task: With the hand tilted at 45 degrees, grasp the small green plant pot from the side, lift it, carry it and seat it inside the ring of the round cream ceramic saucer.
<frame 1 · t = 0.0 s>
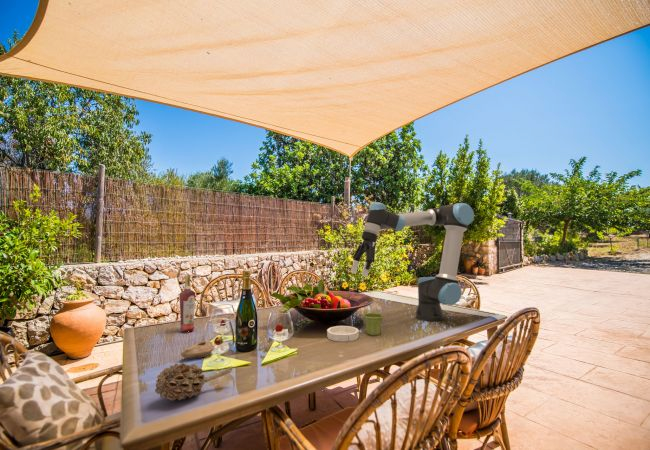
hand: (358, 274, 153), 28 cm above the table, tool tilted 20°, fingers open, 13 cm apart
plant pot: (373, 334, 150), on the table
pottery oil lamp: (197, 357, 123), on the table
banksia seed pod: (196, 395, 93), on the table
liquor: (187, 331, 157), on the table
saucer: (342, 336, 146), on the table
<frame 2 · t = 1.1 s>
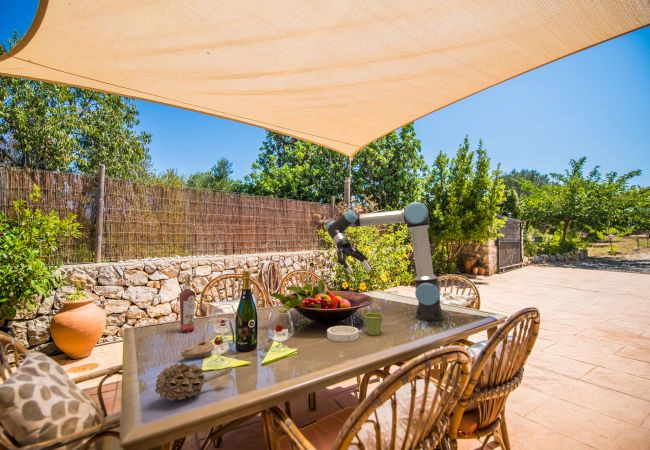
hand: (360, 271, 168), 28 cm above the table, tool tilted 45°, fingers open, 13 cm apart
nothing on the table moved.
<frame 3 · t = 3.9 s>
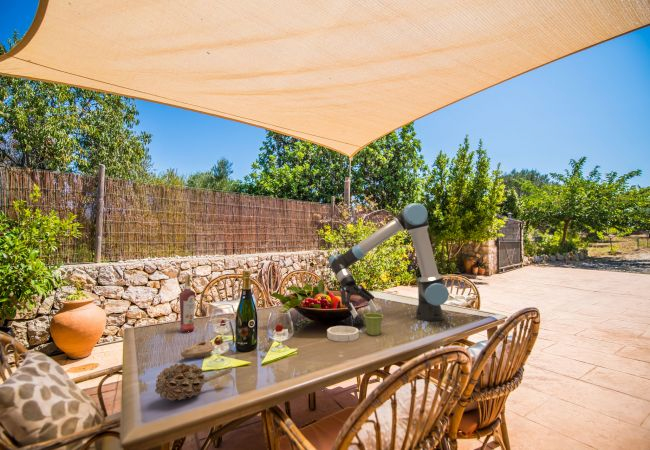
hand: (366, 313, 153), 9 cm above the table, tool tilted 45°, fingers open, 13 cm apart
nothing on the table moved.
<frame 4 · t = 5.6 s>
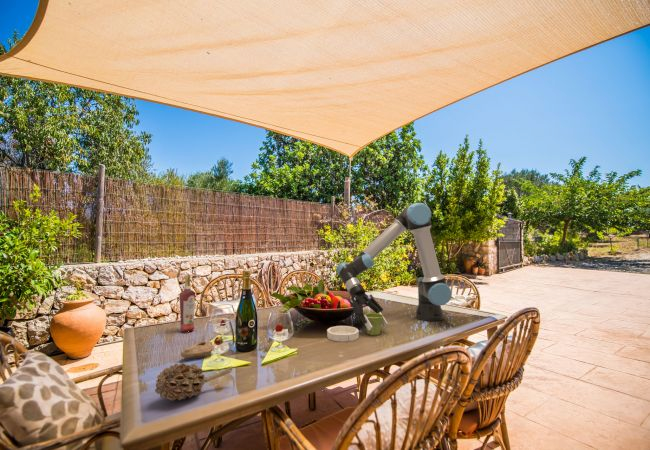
hand: (378, 326, 148), 4 cm above the table, tool tilted 45°, fingers closed on plant pot, 9 cm apart
plant pot: (373, 334, 150), on the table, touching gripper
everything else where it was.
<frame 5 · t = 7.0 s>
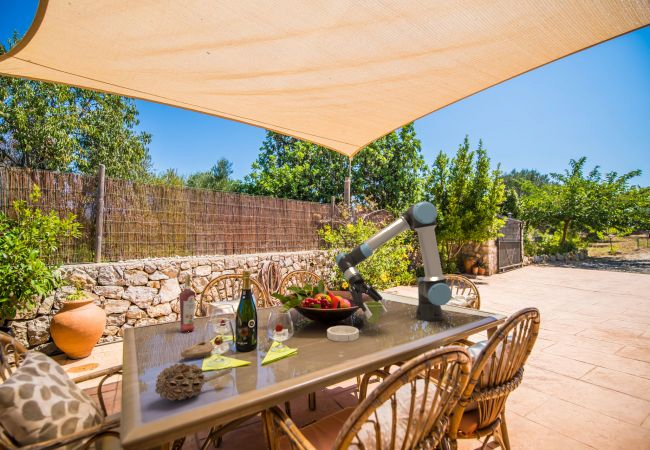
hand: (377, 314, 148), 9 cm above the table, tool tilted 45°, fingers closed on plant pot, 9 cm apart
plant pot: (373, 322, 151), point 5 cm above the table, touching gripper
everything else where it was.
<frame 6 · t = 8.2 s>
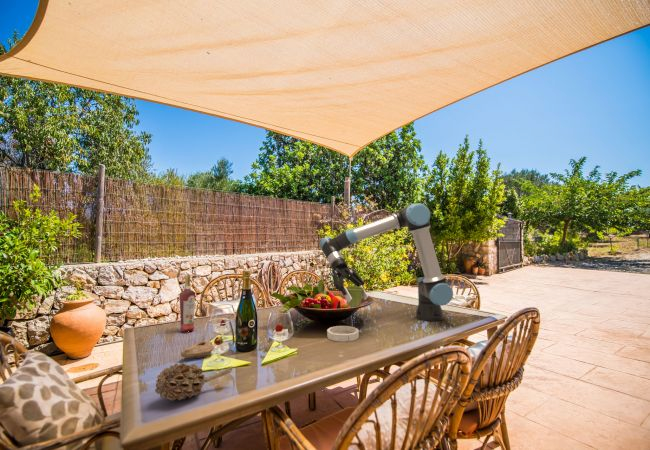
hand: (358, 299, 146), 17 cm above the table, tool tilted 45°, fingers closed on plant pot, 9 cm apart
plant pot: (353, 306, 149), point 13 cm above the table, touching gripper
everything else where it was.
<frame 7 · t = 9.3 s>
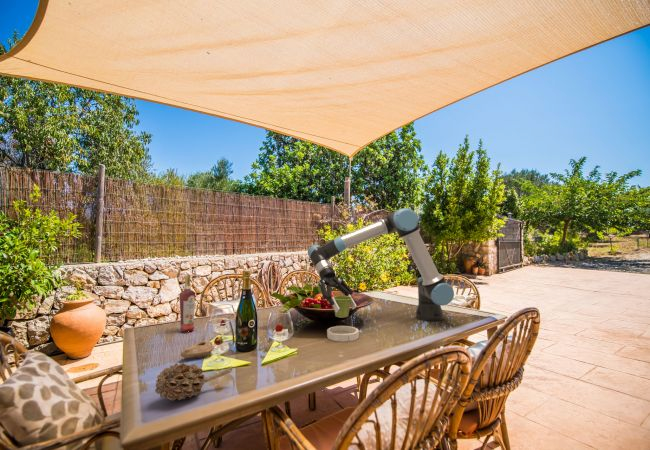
hand: (346, 309, 144), 13 cm above the table, tool tilted 45°, fingers closed on plant pot, 9 cm apart
plant pot: (341, 316, 146), point 9 cm above the table, touching gripper
everything else where it was.
when the fingers open (6 cm above the table, at t = 10.9 s): plant pot drops 1 cm, resting on saucer.
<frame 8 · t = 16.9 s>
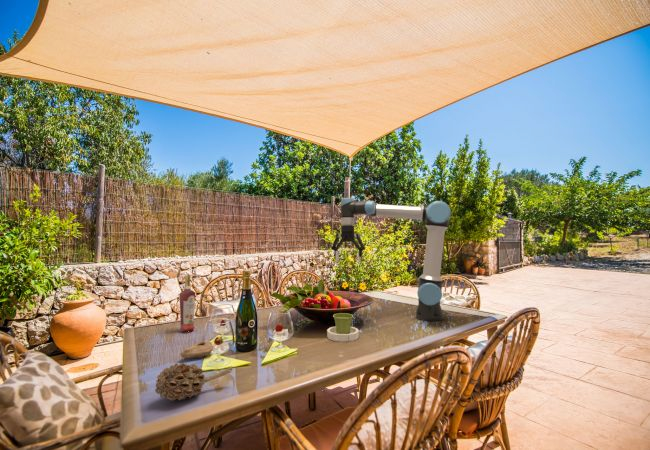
hand: (348, 262, 180), 32 cm above the table, tool pointing down, fingers open, 13 cm apart
plant pot: (343, 334, 146), point 1 cm above the table, touching saucer
everything else where it was.
at the end: plant pot 0.3 cm from the saucer (horizontally); plant pot tilted 0°; plant pot touching saucer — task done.
